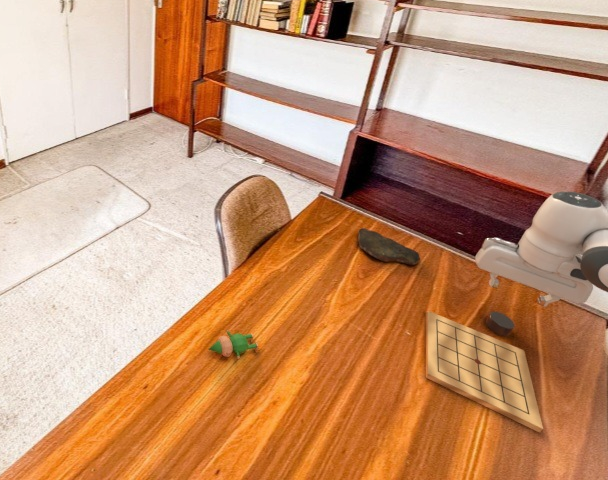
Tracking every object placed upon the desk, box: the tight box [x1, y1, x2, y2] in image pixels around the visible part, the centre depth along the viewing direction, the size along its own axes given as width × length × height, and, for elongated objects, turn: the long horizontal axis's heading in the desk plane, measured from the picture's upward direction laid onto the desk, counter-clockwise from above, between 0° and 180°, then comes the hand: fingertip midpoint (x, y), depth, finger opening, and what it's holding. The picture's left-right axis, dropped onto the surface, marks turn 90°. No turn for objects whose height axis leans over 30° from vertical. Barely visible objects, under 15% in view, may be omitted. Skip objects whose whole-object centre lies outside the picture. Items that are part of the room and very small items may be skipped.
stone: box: [357, 227, 421, 266], centre depth 124 cm, size 18×11×3 cm, turn 49°
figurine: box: [208, 329, 259, 360], centre depth 93 cm, size 4×7×12 cm
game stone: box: [485, 311, 516, 337], centre depth 102 cm, size 5×5×3 cm
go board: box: [425, 310, 544, 434], centre depth 93 cm, size 20×20×2 cm
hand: (516, 294), depth 98 cm, fingers open, 8 cm apart
